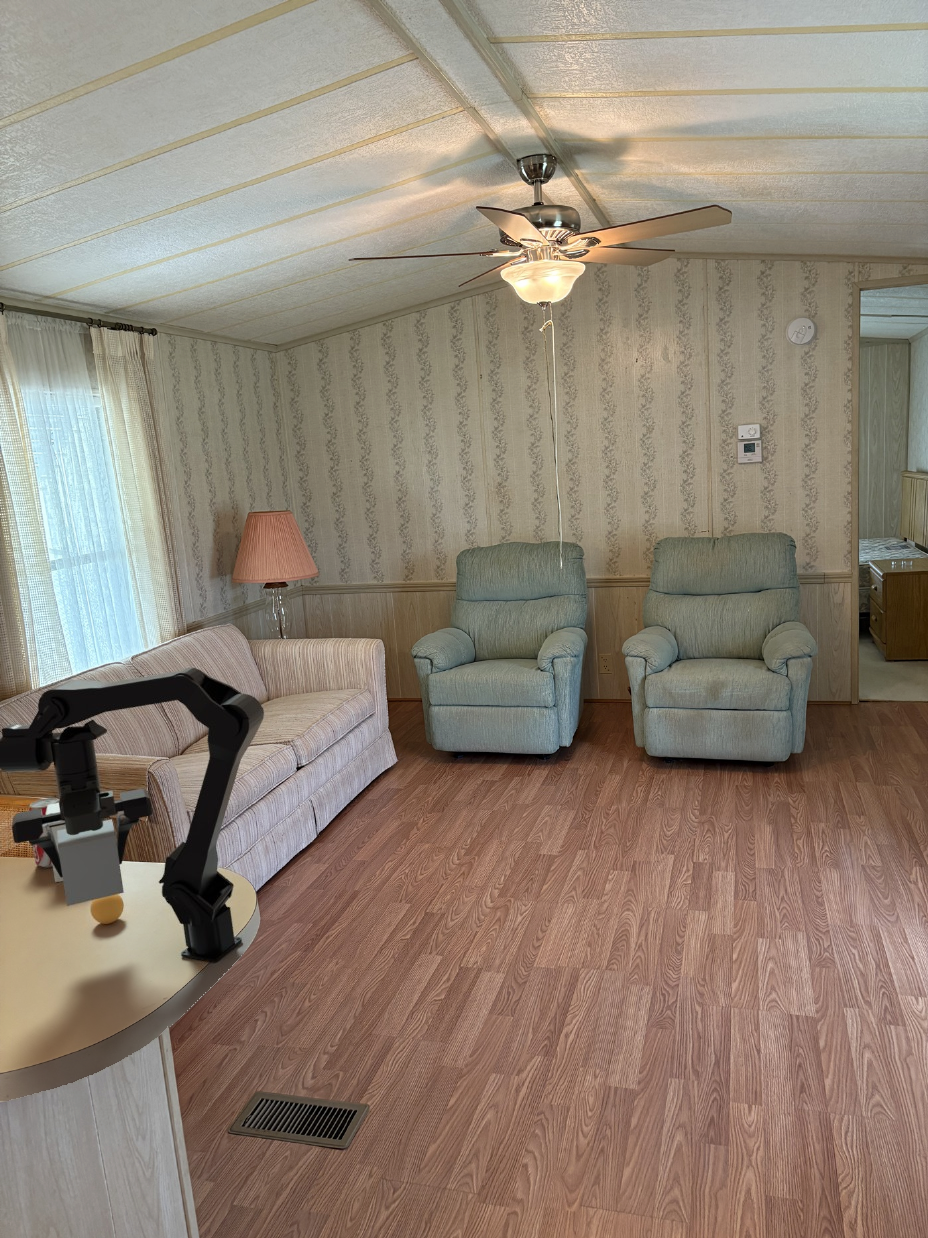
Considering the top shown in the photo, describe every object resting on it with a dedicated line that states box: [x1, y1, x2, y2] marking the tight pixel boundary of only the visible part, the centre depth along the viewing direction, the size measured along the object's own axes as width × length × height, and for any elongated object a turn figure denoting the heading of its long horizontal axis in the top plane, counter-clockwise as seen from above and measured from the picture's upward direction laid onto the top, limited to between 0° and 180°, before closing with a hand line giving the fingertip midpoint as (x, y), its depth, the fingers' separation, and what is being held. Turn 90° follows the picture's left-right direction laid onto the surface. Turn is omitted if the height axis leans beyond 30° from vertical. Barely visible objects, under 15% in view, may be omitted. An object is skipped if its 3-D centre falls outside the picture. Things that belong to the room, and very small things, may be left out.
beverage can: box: [28, 797, 59, 868], centre depth 179 cm, size 6×6×12 cm
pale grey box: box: [57, 819, 125, 907], centre depth 141 cm, size 8×8×9 cm
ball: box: [90, 894, 125, 925], centre depth 153 cm, size 5×5×5 cm
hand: (91, 870), depth 141 cm, fingers closed on pale grey box, 8 cm apart
